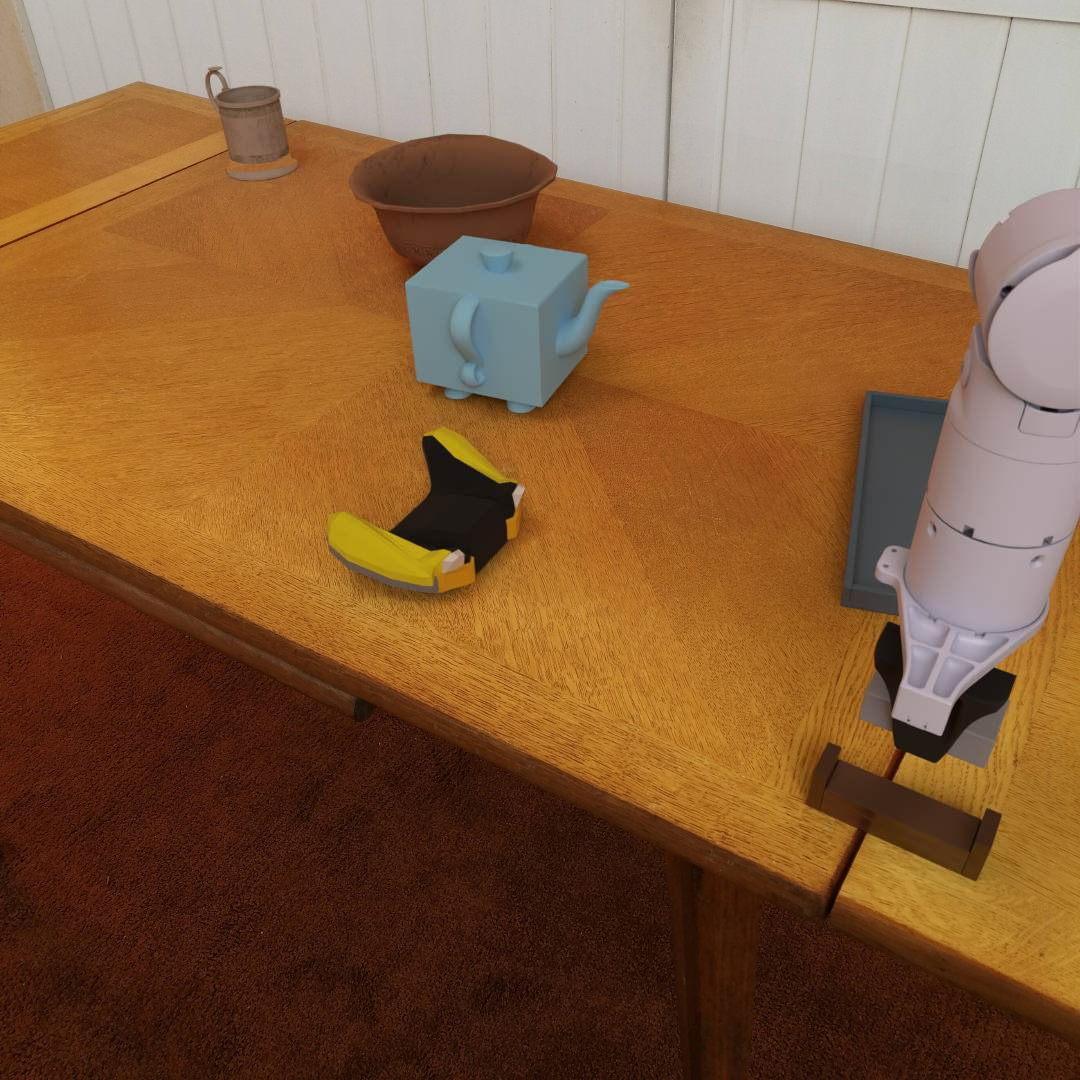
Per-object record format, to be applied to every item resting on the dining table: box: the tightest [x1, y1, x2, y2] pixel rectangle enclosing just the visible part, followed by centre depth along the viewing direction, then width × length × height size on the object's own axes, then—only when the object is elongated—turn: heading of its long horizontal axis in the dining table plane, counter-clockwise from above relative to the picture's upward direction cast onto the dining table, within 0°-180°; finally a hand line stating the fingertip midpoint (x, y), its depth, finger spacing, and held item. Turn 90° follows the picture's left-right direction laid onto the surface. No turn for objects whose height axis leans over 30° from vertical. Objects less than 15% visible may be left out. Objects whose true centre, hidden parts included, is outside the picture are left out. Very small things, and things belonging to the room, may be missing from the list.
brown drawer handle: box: [805, 741, 1003, 882], centre depth 53 cm, size 9×2×3 cm, turn 58°
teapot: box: [404, 236, 631, 414], centre depth 87 cm, size 18×16×13 cm
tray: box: [840, 389, 950, 616], centre depth 75 cm, size 10×26×2 cm, turn 163°
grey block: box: [858, 669, 1010, 769], centre depth 48 cm, size 6×3×2 cm, turn 58°
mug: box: [204, 66, 300, 182], centre depth 136 cm, size 14×10×12 cm
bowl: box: [347, 133, 559, 270], centre depth 108 cm, size 22×22×11 cm
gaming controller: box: [326, 426, 526, 595], centre depth 72 cm, size 15×6×10 cm
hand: (927, 724), depth 49 cm, fingers closed on grey block, 3 cm apart
